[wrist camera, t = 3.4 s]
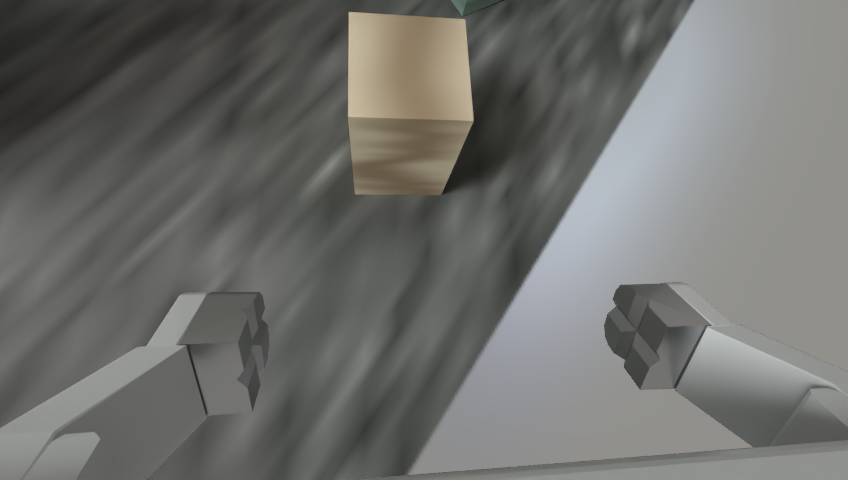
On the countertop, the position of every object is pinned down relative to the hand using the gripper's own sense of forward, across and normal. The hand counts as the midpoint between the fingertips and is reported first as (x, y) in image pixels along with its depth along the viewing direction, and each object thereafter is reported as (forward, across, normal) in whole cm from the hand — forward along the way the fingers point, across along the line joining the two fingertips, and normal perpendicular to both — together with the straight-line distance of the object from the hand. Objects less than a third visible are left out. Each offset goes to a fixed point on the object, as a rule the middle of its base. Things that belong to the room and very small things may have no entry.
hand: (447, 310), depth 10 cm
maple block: (+17, 0, +2) cm, 17 cm away
